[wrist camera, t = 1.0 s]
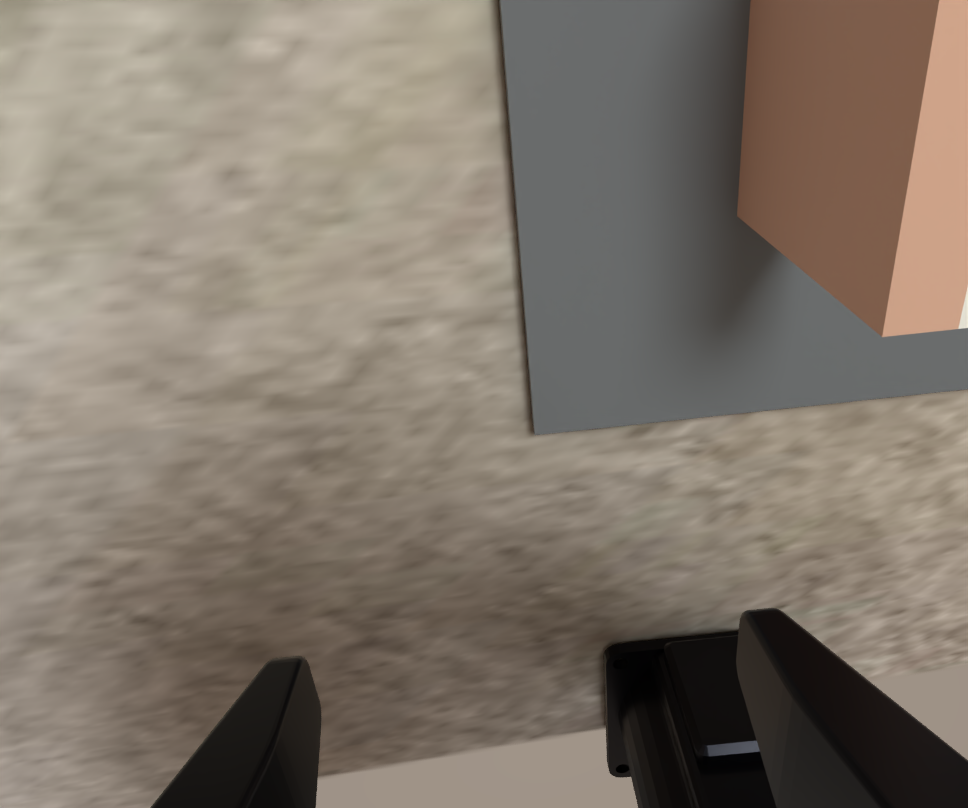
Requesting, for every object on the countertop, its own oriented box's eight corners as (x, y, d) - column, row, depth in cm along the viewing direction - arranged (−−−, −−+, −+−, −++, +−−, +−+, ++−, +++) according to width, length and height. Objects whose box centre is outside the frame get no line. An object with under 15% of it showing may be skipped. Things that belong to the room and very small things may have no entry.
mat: (1178, 355, 21) (1197, 364, 21) (532, 423, 22) (534, 435, 21) (1558, -639, 12) (1608, -666, 12) (458, -503, 13) (458, -524, 12)
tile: (804, 208, 18) (984, 326, 12) (737, 215, 18) (882, 336, 12) (842, -152, 15) (1119, -241, 9) (759, -142, 15) (976, -225, 9)
